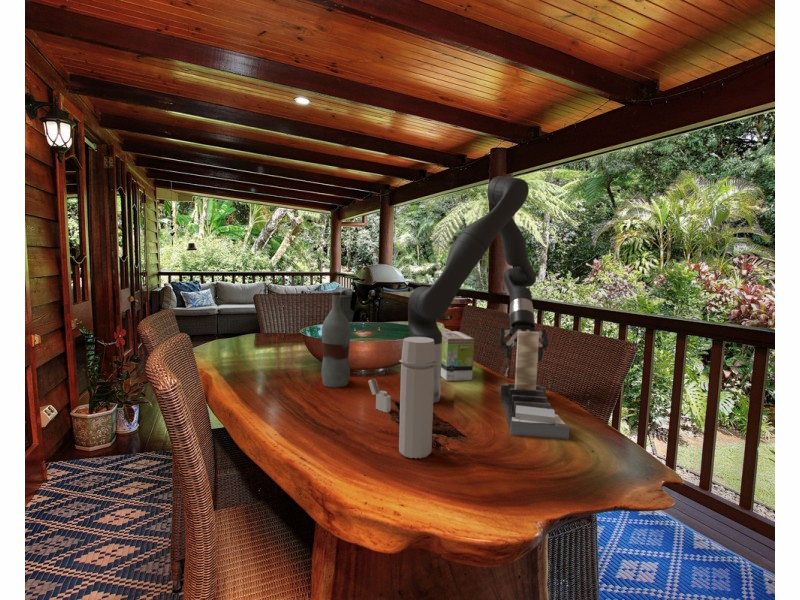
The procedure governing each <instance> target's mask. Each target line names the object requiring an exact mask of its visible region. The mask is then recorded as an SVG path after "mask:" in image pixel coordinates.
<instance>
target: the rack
mask: <svg viewBox="0 0 800 600" xmlns="http://www.w3.org/2000/svg"><path fill="white" fill-rule="evenodd" d="M499 395H500V399H501V403H502V406H503V411H504V414H505V419H506V422H507V426H508V429H509V435H510V436H519V437H529V438H530V437H531V438H543V439H555V440H556V439H557V440H569V439H570V425H569V424H565V425H559V424H545V423H530V422H518V421H512V417H515V413H516V405H518V406H527V407H536V408H545V409H552V405H551V403H549V402H548V397H547V396H546V395H547V388H546V386H541V385H540V384H536V390H527V389H515V383H511V382H508V384H505V383H504V384H503V383H502V384H500V390H499Z"/></svg>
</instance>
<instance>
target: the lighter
mask: <svg viewBox="0 0 800 600" xmlns="http://www.w3.org/2000/svg"><path fill="white" fill-rule="evenodd" d="M367 382H368V385H369V388H370V391H371V394H372V396H373V395H375V410H376V409H378V410H377V411H379V410H380V411H379V412H382V411H383V413H385V412H386V414H387V413H390V412H391V408H392V407H391V404H392V399H391V398H392V397H391V395H389V394H388V392H387V391H385V390H380V388H379V385H378V382H377V379H376V378H372V379H369V380H368V381H367Z"/></svg>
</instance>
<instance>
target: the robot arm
mask: <svg viewBox="0 0 800 600" xmlns="http://www.w3.org/2000/svg"><path fill="white" fill-rule="evenodd" d="M529 189H530V188H529V184H528V182H527V181H526V180H525V179H523V178H518V177H512V176H504V175H503V176H502V175H498V176H495V177H493V178H492V179H491V180H490V181H489V183H488V185H487V190H486V192H487V193H486V194H487V200H488V202H489V206H490V209H491V210H490V211H489V212H488V213H487V214H485V215H484V216H481V217H480V218H479V219H477V220H475V221H474V222H472V223H470V224H468V225H467V226H466V227H465V228H464V229H463V230H462V231H461V232H460V233H459V235H458V237H457V238H456V239H455V241H454V242H453V243H452V245H451V247H450V249H449V252H448V255H447V259H446V263H445V266H444V269H443V270H442V272H441V274H440V275H439V276H438V277H437V279H436V280H435V281H434V283H433V284H432V285H431V286H426V285H425V286H419V287H416V288H414V290H412V291H411V293H410V295H409V298H408V303H407V318H408V320H407V327H408V332H409V335H410V336H409V337H426V338H431V339H433V340H434V345H435V362H437V363H436V364H433V365H434V390H433V404H434V403H435V404H436V403H438V402H440V400H441V383H442V382H441V380H442V379H441V355H442V333H441V332H442V331H441V330H440V329H439V327H438V324H437V323H438V322H437V321H438V320H439V319H441V318H442V317H443V316H444V315H445V314H446V313H447V311H448V310H449V308H450V307H451V305H452V303H453V301H454V300H455V298H456V296H457V294H458V292H459V290H460V289H461V288H462V285H463V284H464V282H465V281H466V280H467V279H468V277H469V275H470V274H471V273H472V271H473V270H474V268H475V267H476V265H477V264H478V263H479V262H480V261H481V259H482V258H483V257H484V255H485V254H486V253H487V251H488V249H489V248H490V246H491V245H492V244H493V242H494V241H495V239H496V238H497V236H499V234H500V237H501V240H502V241H501V242H502V246H503V252H504V256H505V261H506V264H507V265H508V266H510V268H507V269H506V270H505V271H504V273H503V281H504V284H505V286H506V289H507V291H508V294H509V295H508V296H509V315H508V316H509V329H505V327H501V328H500V332H499V348H500V349H505V358H507V360H508V361H511V359H512V347H514V345H515V344H517V335H518V331H531V332H538V333H539V340H541V342H540V341H539V345H538V362H537V363H539V362H541V361H542V360H543V357H544V354H543V352H544V351H547V350H548V347H549V339H548V334H547V330H546V329H542V330H541V331H540V330H539V331H537V330H536V323H535V322H536V321H535V312H534V311H535V310H534V306H533V297H532V296H533V295H532V290H531V289H530V288H529V287H532V286H534V285H535V283H536V280H537V275H536V271H535V270H534V268H533V266H532V265H531V262H530V260H529V257H528V253H527V246H526V245H527V244H526V241H525V238H524V237H525V236H524V235H523V233H522V231H521V230H520V228H519V226H518V225H517V223H516V222H515V219H514V218H513V217H514V216H515V215H516V214H517V213H518V212H519V210H520V209H521V208H522V206H523V205H524V204H525V203H526V200H527V198H528V195H529ZM508 335H509V336H510V338H509V340H508V341H505V338H506V337H507V336H508Z"/></svg>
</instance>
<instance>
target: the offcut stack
mask: <svg viewBox="0 0 800 600" xmlns="http://www.w3.org/2000/svg"><path fill="white" fill-rule="evenodd" d="M512 421H518V422H530V423H545V424H559V425H566V423H565V422H564V421H563V420H562V419H561V417H560V416H559V415H558V414H556V413H555V409H553V408H551V409H545V408H536V407H527V406H518V405H516V413H515V417H512Z"/></svg>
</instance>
